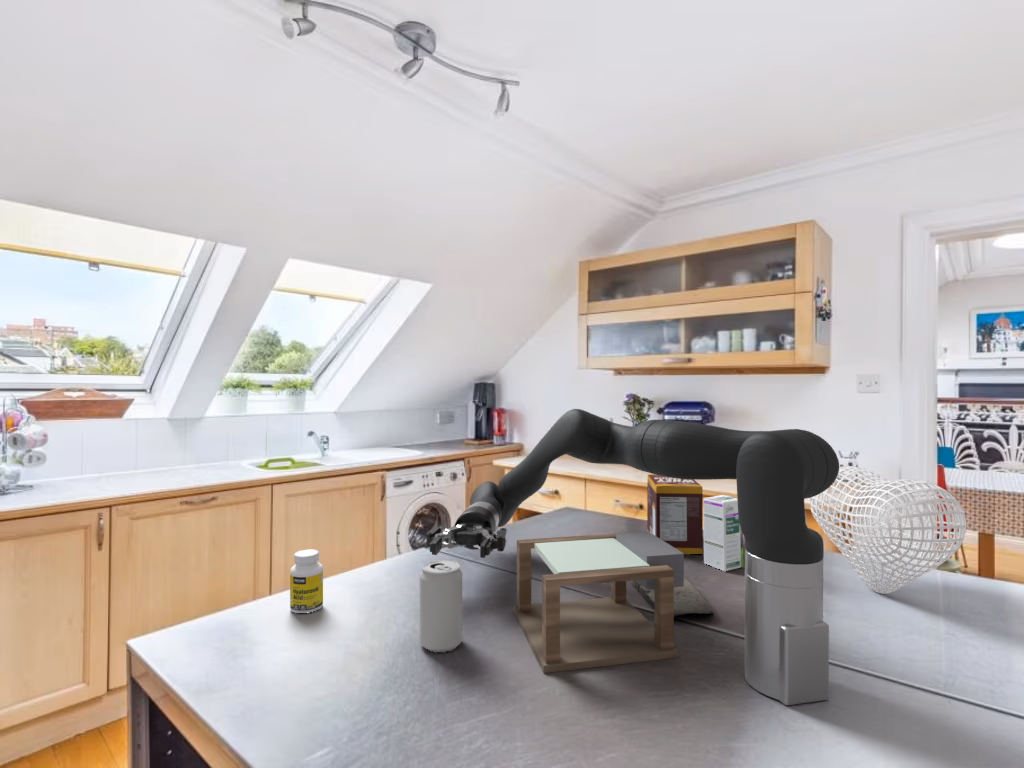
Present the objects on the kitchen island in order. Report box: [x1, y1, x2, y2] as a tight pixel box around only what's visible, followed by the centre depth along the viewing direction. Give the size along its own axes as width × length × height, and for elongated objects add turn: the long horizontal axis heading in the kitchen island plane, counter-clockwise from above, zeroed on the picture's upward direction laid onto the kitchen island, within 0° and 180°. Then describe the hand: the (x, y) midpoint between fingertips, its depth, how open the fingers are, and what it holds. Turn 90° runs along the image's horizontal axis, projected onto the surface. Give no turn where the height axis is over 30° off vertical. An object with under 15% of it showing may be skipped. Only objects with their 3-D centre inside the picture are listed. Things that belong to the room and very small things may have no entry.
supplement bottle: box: [289, 548, 324, 614], centre depth 97 cm, size 5×5×10 cm
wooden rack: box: [513, 532, 680, 674], centre depth 87 cm, size 20×20×12 cm
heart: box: [808, 465, 967, 595], centre depth 103 cm, size 28×16×22 cm, turn 8°
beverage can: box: [419, 559, 463, 653], centre depth 84 cm, size 6×6×12 cm
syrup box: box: [703, 494, 744, 573], centre depth 117 cm, size 6×6×14 cm
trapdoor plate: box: [534, 531, 685, 590], centre depth 88 cm, size 14×20×5 cm
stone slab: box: [629, 576, 715, 618], centre depth 106 cm, size 10×3×30 cm
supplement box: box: [646, 473, 704, 555], centre depth 132 cm, size 10×15×16 cm
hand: (457, 550), depth 95 cm, fingers open, 8 cm apart
